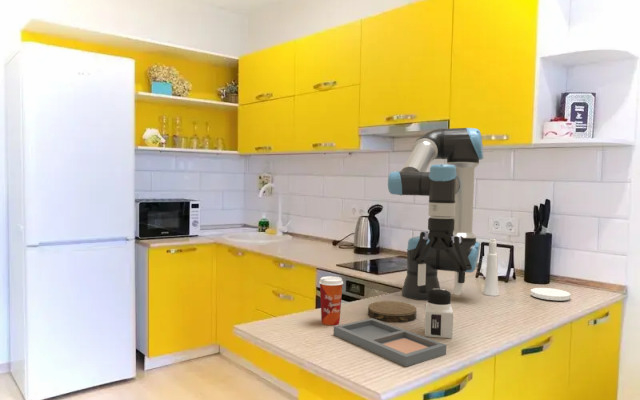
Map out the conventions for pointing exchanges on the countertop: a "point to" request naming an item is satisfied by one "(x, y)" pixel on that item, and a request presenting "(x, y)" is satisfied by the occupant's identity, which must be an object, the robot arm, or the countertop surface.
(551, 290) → the plastic lid
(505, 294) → the countertop surface
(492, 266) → the cosmetic bottle
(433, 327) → the container
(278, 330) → the countertop surface
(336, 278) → the paper cup
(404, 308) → the brown disc
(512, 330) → the countertop surface
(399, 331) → the two-bay tray
